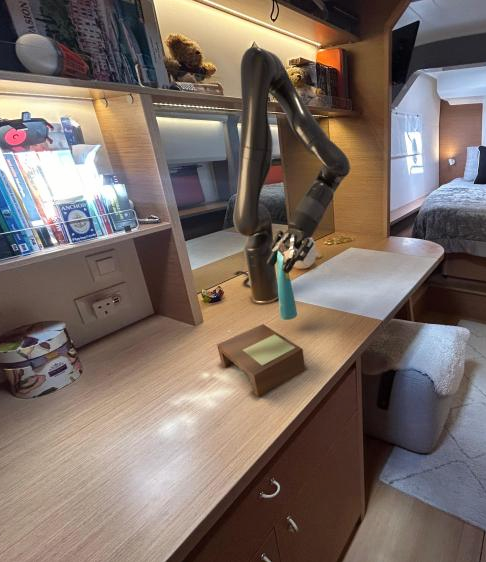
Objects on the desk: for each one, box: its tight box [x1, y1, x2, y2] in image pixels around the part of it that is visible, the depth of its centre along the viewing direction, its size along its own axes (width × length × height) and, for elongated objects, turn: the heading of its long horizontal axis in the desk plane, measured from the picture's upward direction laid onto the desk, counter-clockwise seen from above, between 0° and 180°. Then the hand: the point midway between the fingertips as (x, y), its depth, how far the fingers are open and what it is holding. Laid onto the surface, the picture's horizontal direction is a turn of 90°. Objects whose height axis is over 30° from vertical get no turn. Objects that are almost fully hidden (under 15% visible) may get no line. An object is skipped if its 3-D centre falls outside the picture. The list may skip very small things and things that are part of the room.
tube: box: [276, 251, 298, 321], centre depth 95 cm, size 7×5×19 cm, turn 30°
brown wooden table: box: [216, 323, 306, 398], centre depth 84 cm, size 18×13×6 cm
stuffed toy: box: [283, 236, 323, 270], centre depth 147 cm, size 19×14×25 cm
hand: (277, 268), depth 92 cm, fingers closed on tube, 6 cm apart
